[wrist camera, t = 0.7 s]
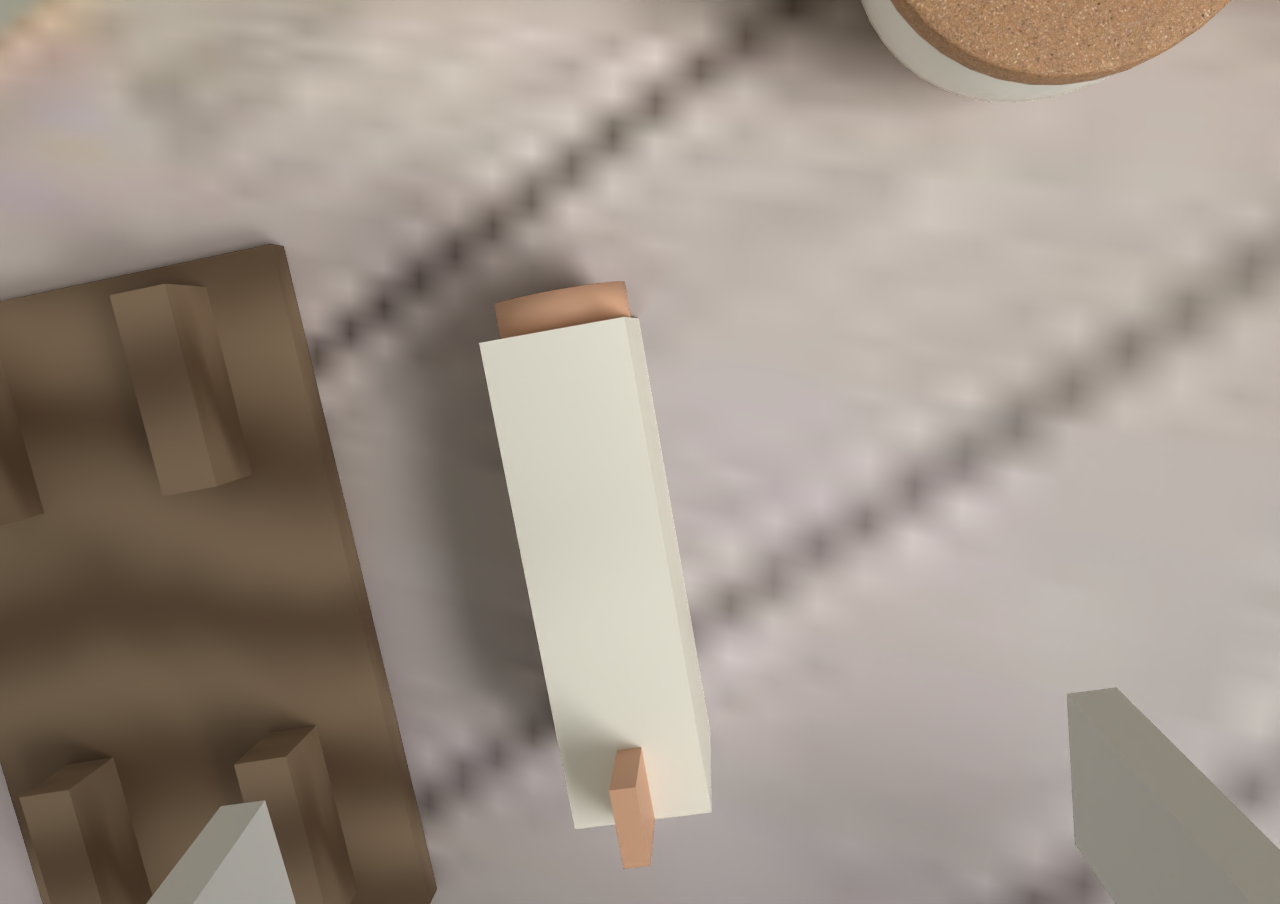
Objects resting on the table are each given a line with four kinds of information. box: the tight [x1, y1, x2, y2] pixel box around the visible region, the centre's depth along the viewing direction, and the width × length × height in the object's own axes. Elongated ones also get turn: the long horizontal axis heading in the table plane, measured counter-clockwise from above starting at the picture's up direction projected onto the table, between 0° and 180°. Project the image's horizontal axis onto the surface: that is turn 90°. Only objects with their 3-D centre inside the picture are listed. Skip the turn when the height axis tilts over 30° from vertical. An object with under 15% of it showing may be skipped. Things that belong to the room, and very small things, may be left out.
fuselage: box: [479, 281, 711, 869], centre depth 29 cm, size 17×4×8 cm, turn 10°
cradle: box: [0, 244, 437, 904], centre depth 34 cm, size 26×16×4 cm, turn 11°
